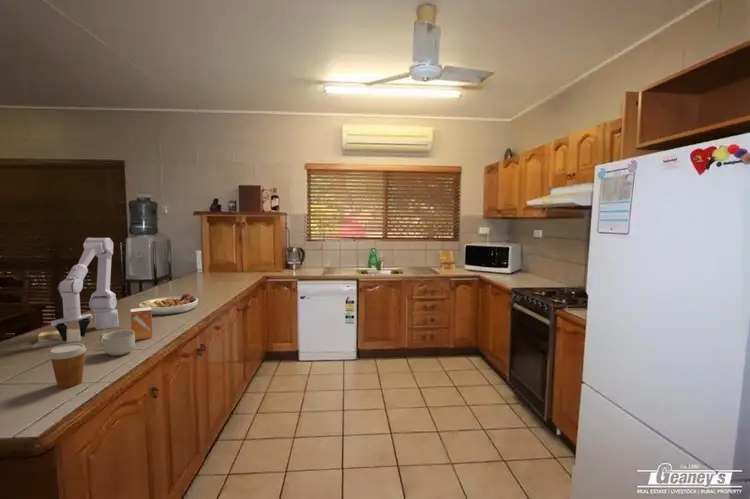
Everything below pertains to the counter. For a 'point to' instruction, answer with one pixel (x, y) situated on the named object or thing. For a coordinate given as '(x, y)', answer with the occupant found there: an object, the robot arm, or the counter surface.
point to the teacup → (118, 342)
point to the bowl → (170, 304)
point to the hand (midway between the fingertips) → (73, 338)
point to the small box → (141, 322)
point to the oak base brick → (49, 336)
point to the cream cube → (73, 335)
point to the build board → (53, 343)
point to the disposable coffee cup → (68, 364)
